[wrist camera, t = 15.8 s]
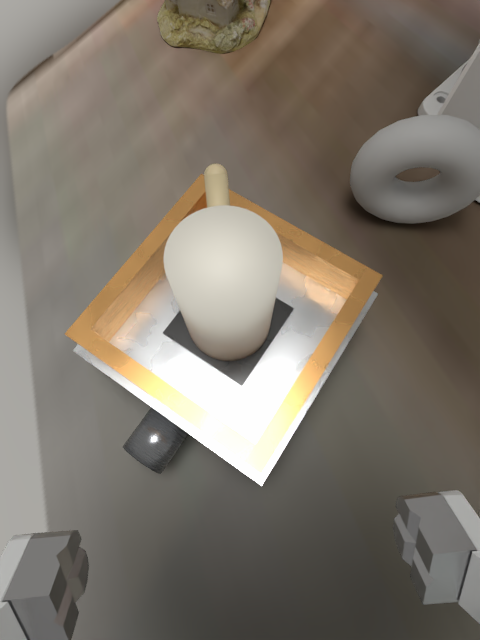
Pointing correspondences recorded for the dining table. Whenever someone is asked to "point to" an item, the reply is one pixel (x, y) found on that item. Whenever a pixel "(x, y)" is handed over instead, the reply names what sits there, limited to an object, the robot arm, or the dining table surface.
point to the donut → (412, 152)
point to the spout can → (224, 273)
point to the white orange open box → (216, 375)
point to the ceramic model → (212, 23)
